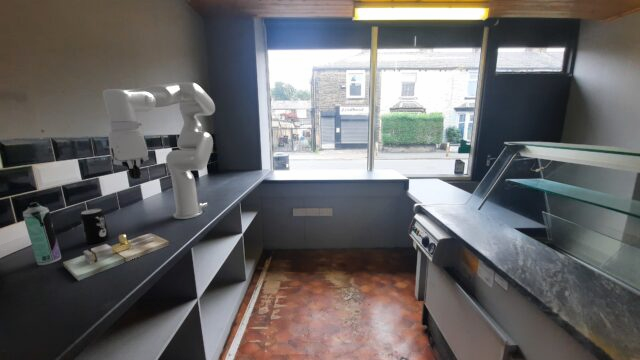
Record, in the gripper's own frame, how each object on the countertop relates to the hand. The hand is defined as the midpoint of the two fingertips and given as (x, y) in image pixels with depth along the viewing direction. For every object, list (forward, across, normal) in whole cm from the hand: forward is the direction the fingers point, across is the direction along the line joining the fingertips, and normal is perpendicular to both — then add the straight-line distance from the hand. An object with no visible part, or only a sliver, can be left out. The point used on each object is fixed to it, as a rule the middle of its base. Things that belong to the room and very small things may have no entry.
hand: (135, 178), depth 92 cm
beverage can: (+24, +11, -15) cm, 31 cm away
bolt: (+22, +14, +6) cm, 26 cm away
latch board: (+24, +12, +6) cm, 27 cm away
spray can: (+24, +25, -11) cm, 36 cm away
